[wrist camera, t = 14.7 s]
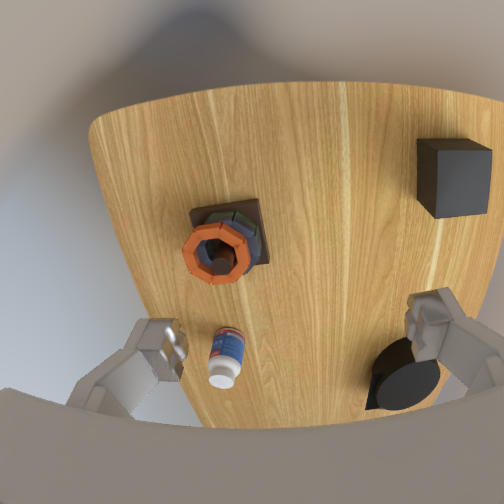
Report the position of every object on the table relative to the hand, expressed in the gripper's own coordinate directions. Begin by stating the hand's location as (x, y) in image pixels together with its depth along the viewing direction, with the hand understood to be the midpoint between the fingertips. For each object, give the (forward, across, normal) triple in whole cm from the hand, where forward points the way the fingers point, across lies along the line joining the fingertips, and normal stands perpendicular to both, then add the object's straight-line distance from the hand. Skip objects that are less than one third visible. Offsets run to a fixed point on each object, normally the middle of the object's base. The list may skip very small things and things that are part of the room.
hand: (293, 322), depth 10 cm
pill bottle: (+29, +14, +31) cm, 45 cm away
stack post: (+29, +9, +11) cm, 32 cm away
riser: (+29, -21, +5) cm, 36 cm away
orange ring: (+25, +10, +11) cm, 29 cm away
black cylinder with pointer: (+29, -18, +45) cm, 57 cm away
